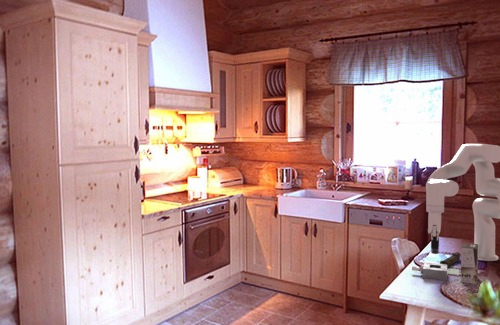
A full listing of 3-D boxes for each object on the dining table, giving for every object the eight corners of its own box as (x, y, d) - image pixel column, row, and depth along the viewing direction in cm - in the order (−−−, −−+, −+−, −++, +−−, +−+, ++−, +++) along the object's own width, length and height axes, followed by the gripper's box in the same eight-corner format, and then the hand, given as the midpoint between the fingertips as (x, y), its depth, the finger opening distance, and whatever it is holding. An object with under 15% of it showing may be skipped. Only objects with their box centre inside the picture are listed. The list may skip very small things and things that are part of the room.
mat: (441, 268, 208) (441, 267, 208) (459, 270, 204) (459, 269, 204) (440, 273, 201) (440, 272, 201) (459, 275, 197) (459, 274, 197)
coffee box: (476, 285, 185) (477, 248, 184) (460, 282, 188) (460, 247, 187) (478, 278, 192) (478, 243, 191) (462, 276, 196) (462, 242, 195)
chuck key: (438, 252, 196) (439, 233, 195) (438, 254, 193) (438, 234, 192) (431, 251, 197) (431, 232, 197) (430, 253, 194) (431, 234, 194)
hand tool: (447, 269, 207) (447, 260, 206) (439, 267, 210) (439, 258, 209) (464, 261, 219) (464, 252, 218) (456, 259, 222) (457, 250, 221)
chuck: (413, 271, 205) (413, 261, 205) (447, 274, 198) (447, 264, 198) (411, 277, 196) (411, 267, 196) (446, 281, 189) (446, 271, 189)
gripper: (427, 205, 203) (427, 242, 204) (425, 211, 188) (425, 251, 189) (444, 205, 199) (444, 244, 201) (443, 212, 185) (443, 253, 186)
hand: (435, 247), depth 195 cm, fingers closed on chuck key, 3 cm apart
